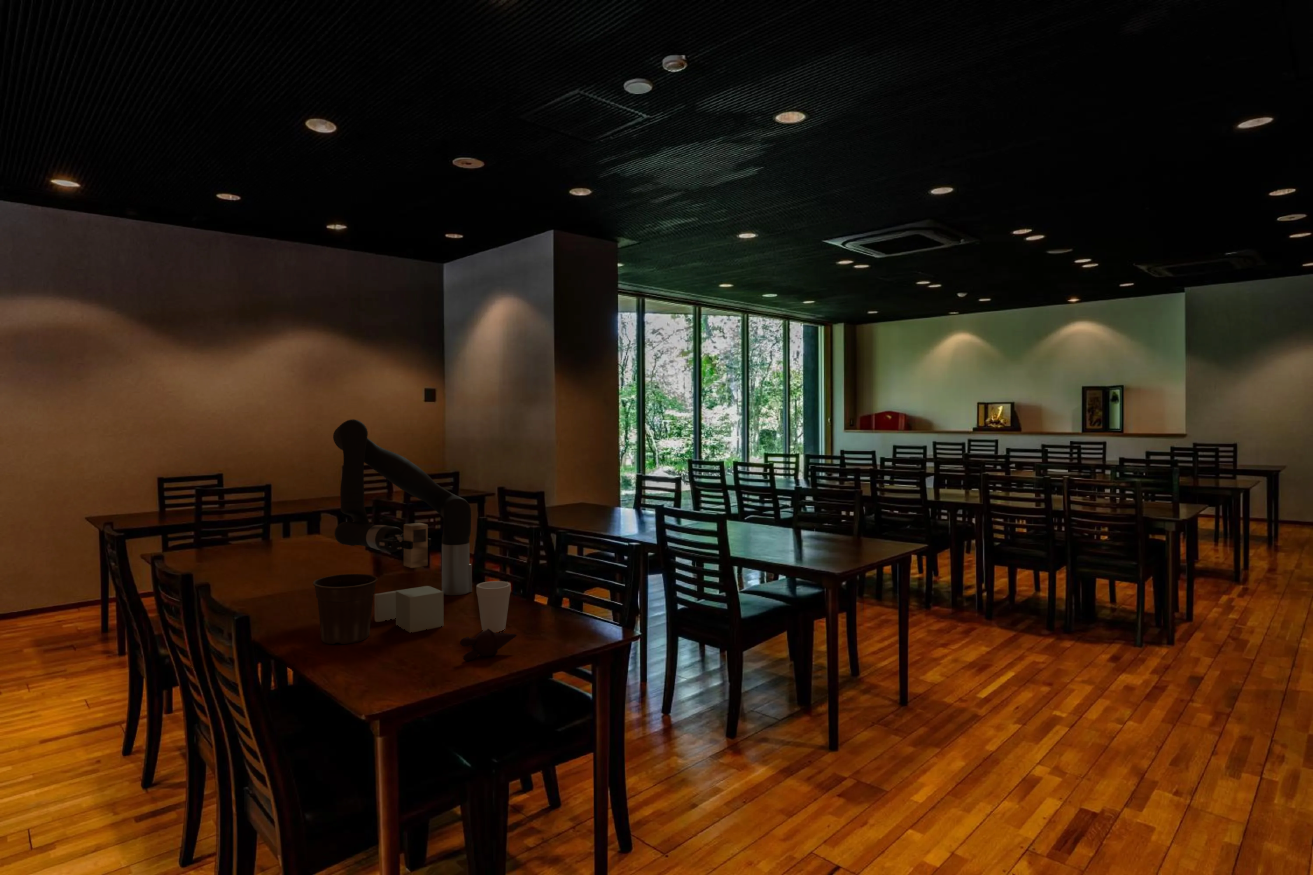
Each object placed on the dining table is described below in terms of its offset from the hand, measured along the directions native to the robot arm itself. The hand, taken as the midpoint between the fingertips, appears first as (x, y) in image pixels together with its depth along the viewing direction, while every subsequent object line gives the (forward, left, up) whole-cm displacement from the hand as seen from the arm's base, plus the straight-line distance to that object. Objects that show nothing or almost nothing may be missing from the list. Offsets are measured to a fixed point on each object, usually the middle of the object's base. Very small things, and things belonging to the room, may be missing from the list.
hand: (421, 543), depth 208 cm
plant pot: (+20, -2, -24) cm, 32 cm away
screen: (0, -13, -24) cm, 27 cm away
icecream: (-2, +36, -24) cm, 43 cm away
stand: (0, -1, -24) cm, 24 cm away
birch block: (+1, -2, -7) cm, 7 cm away
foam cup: (-14, +17, -24) cm, 33 cm away
